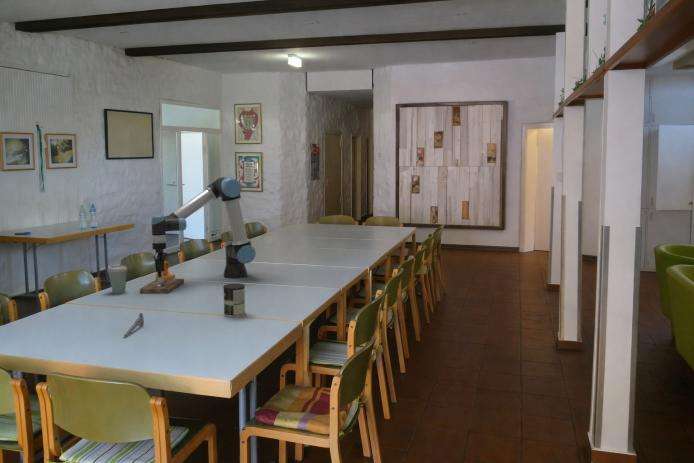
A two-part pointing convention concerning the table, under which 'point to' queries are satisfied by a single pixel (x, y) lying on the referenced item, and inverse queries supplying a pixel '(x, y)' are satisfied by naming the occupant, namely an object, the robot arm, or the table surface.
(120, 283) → the disposable coffee cup
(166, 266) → the bracket
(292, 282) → the table surface
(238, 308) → the coffee can
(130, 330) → the caliper
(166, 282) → the wooden board with holes
